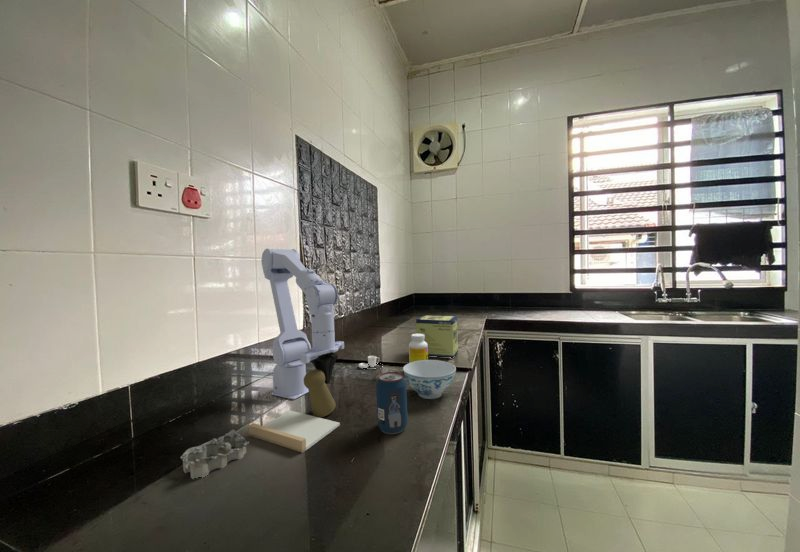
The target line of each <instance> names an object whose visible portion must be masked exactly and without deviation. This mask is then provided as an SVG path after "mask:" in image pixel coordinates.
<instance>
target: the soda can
mask: <svg viewBox="0 0 800 552" xmlns="http://www.w3.org/2000/svg"><path fill="white" fill-rule="evenodd" d="M377 378H378V379H377V381H376V384H375V390H376V391H375V393H376V395H375V396H376V397H375V398H376V419H377V421H376V422H377V426H378V428H379V430H380V431H381V432H383V433H384V434H387V435H397V434H400V433H402V432H403V431H404V430H405V429H406V427H407V424H408V399H407V398H408V396H407V395H408V394H407V380H406V379H405V377H404V373H401V372H398V371H387V372H383V373H381V374H379V375H378V377H377Z"/></svg>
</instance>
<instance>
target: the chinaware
mask: <svg viewBox="0 0 800 552" xmlns="http://www.w3.org/2000/svg"><path fill="white" fill-rule="evenodd" d="M402 369H403V376H404V379H405V381H406V383H407V384H408V385H409V386H410V388H411V389H412V390H414V391H415V392H417V394H418V396H419V397H421V398H422V399H427V400H434V399H438V398H440V397H441V396H442V395H443V393H444V392H445V391H446V390H448V388H449V387H450V386H451V385H452V383H453V382H454V379H455V377H456V376H455V375H456V371H457V368H456V366H455V365H454V364H453V363H452V362H451V363H450V362H447V361H445V360H440V359H439V360H438V359H428V360H420V361H415V362H411V363H407V364H405V365H403V368H402Z"/></svg>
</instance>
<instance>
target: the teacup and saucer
mask: <svg viewBox="0 0 800 552" xmlns="http://www.w3.org/2000/svg"><path fill="white" fill-rule="evenodd" d="M377 359H378V361H377ZM367 362H368V363H365V362H361V363H358V367H359V368H360V369H363V368H367V369H369V368H375V367H376V366H378V365H377V364H378V363H379V362H380V359H379V357H377V356H376V355H369V356H367ZM376 363H377V364H376ZM368 364H369V365H368ZM369 366H370V367H369ZM374 366H375V367H374ZM383 367H384V365H383V366H382V368H383Z"/></svg>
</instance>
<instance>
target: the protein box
mask: <svg viewBox="0 0 800 552" xmlns="http://www.w3.org/2000/svg"><path fill="white" fill-rule="evenodd" d="M415 325H416V326H415V327H416V328H415V329H416V330H415V331H416V332H415V334H424V335H425V338H424V341H425V342H426V343H427V345H428V356H437V357H451V358H453V357H454V356H455V355H456V354H457V355H458V353H459V344H458V343H459V337H458V336H459V335H458V316H457V315H422V316H420V317H418V318H416V319H415ZM457 352H458V353H457ZM457 355H456V356H457ZM456 356H455V357H456ZM455 357H454V358H455Z"/></svg>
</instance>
